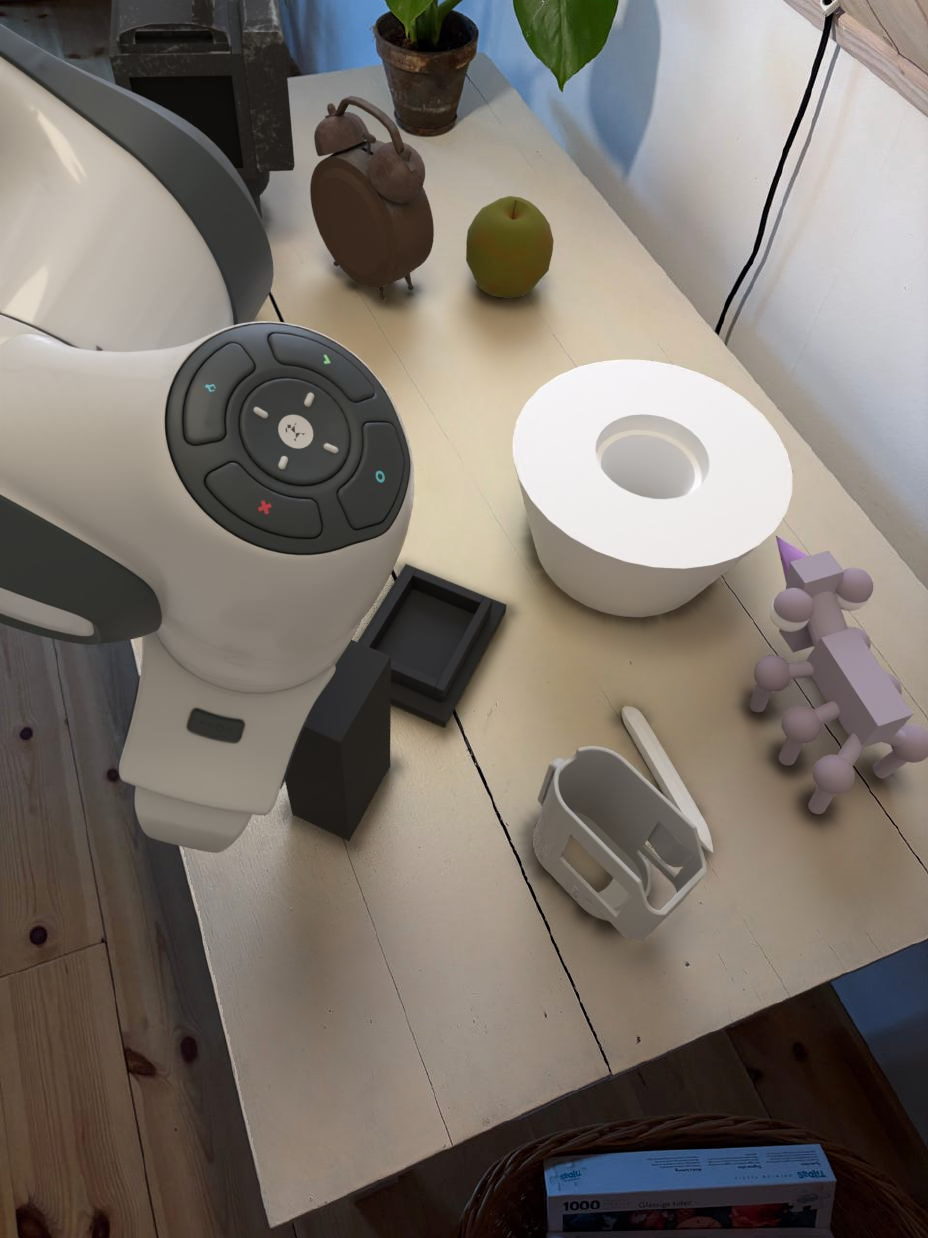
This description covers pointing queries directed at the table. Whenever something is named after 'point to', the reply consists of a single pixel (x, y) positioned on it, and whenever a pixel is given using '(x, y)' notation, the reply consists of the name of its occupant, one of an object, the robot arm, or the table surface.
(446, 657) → the base pad
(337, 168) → the alarm clock
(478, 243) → the apple
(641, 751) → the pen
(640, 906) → the cable organizer
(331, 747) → the tall black pillar
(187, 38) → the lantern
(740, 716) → the table surface
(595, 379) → the white piece
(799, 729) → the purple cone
